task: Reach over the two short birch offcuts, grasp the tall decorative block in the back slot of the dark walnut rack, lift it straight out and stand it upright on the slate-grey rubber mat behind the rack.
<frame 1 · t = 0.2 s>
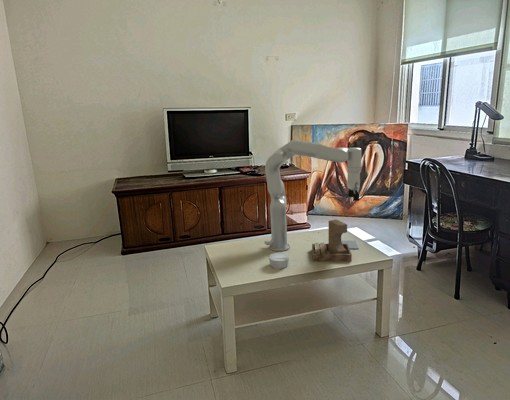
hand: (353, 198, 209), 31 cm above the table, tool pointing down, fingers open, 9 cm apart
offcut front: (317, 255, 208), resting in rack
offcut back: (322, 255, 208), resting in rack
rack: (331, 255, 208), on the table
mat: (349, 245, 221), on the table
ramekin: (279, 265, 198), on the table
decorative block: (337, 255, 207), resting in rack
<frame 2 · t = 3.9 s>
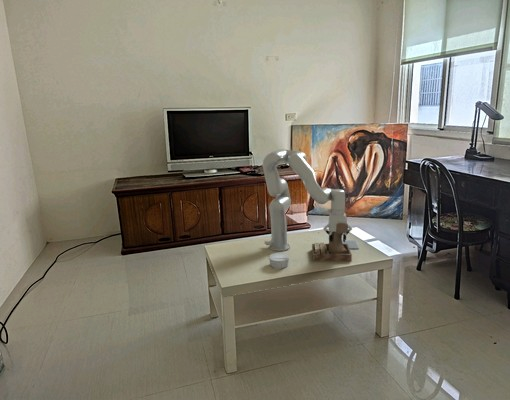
hand: (337, 241, 205), 9 cm above the table, tool pointing down, fingers closed on decorative block, 6 cm apart
decorative block: (337, 255, 207), resting in rack, touching gripper
everything else where it was.
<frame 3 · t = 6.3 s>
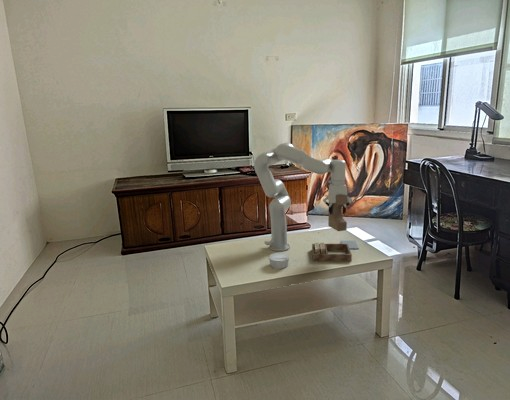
hand: (337, 213, 201), 25 cm above the table, tool pointing down, fingers closed on decorative block, 6 cm apart
decorative block: (337, 228, 204), point 16 cm above the table, touching gripper
everything else where it was.
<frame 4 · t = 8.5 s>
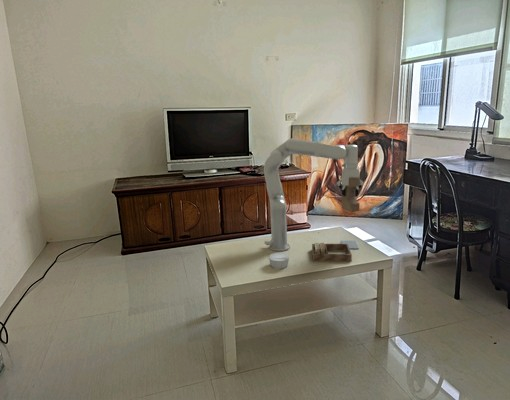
hand: (350, 195, 214), 32 cm above the table, tool pointing down, fingers closed on decorative block, 6 cm apart
decorative block: (350, 210, 216), point 23 cm above the table, touching gripper
everything else where it was.
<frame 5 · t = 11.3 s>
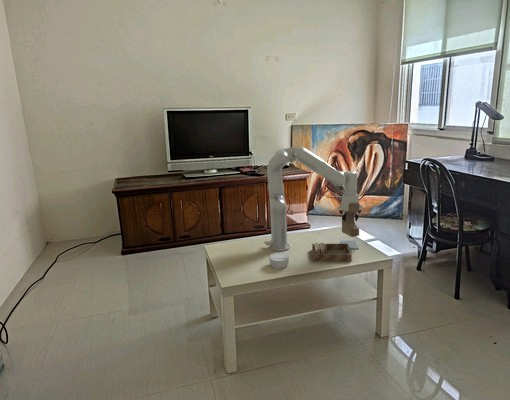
hand: (349, 220, 218), 16 cm above the table, tool pointing down, fingers closed on decorative block, 6 cm apart
decorative block: (350, 234, 220), point 7 cm above the table, touching gripper
everything else where it was.
when the fingers open (11 cm above the table, at t = 13.5 s): decorative block drops 1 cm, resting on mat.
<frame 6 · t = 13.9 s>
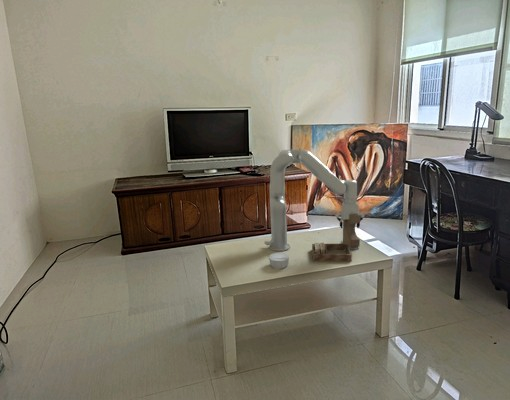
hand: (349, 227, 219), 11 cm above the table, tool pointing down, fingers open, 9 cm apart
decorative block: (351, 244, 221), resting on mat, touching gripper
everything else where it was.
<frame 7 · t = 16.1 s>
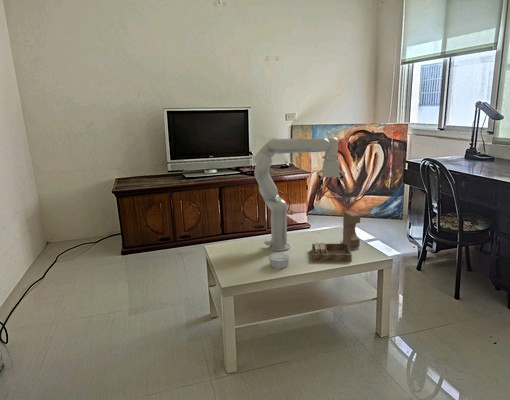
hand: (330, 185, 221), 36 cm above the table, tool pointing down, fingers open, 9 cm apart
decorative block: (351, 244, 221), resting on mat
everything else where it was.
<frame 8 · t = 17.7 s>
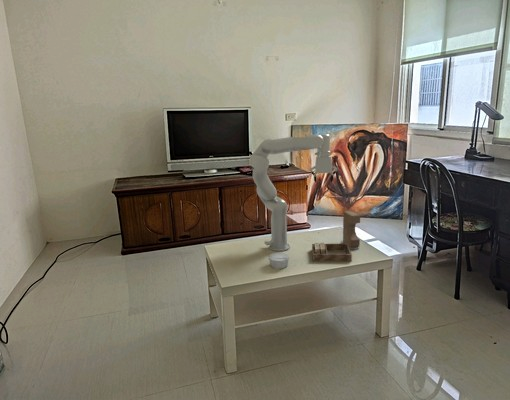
hand: (323, 181, 224), 38 cm above the table, tool pointing down, fingers open, 9 cm apart
nothing on the table moved.
at the end: decorative block 1.0 cm off-centre on the mat, point 0.4 cm above the mat's base; decorative block tilted 0°; offcut back moved 0.1 cm from its start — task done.
